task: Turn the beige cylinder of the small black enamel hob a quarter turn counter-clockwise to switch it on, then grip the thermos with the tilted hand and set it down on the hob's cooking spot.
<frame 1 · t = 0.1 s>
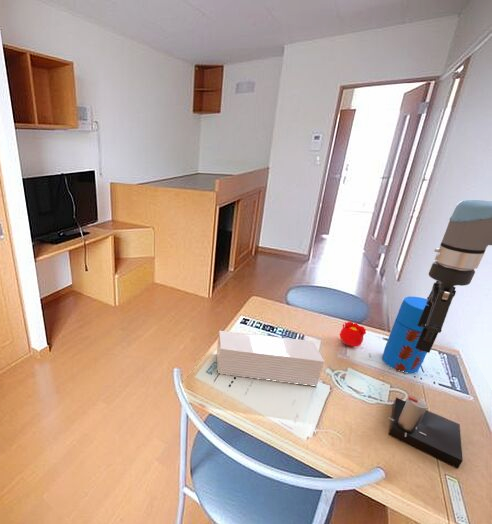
hand: (422, 337, 82), 27 cm above the table, tool pointing down, fingers open, 13 cm apart
flower: (349, 344, 122), on the table
beige cylinder: (412, 413, 82), point 8 cm above the table, hinge at 0.0°
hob: (422, 433, 85), on the table
thermos: (399, 363, 111), on the table
stack of papers: (262, 370, 108), on the table
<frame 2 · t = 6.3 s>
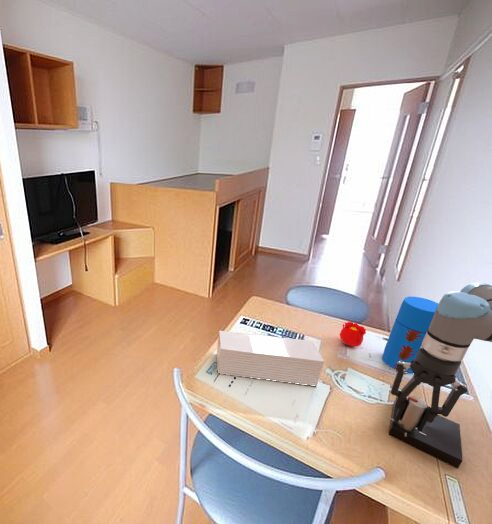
hand: (408, 422, 83), 5 cm above the table, tool pointing down, fingers closed on beige cylinder, 4 cm apart
beige cylinder: (412, 413, 82), point 8 cm above the table, hinge at 0.0°, touching gripper
everything else where it was.
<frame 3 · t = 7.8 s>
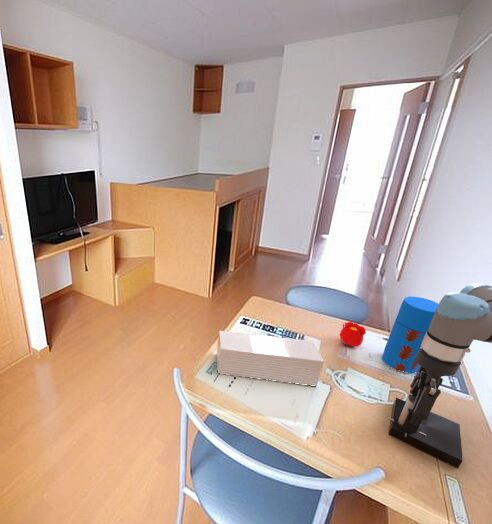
hand: (408, 422, 83), 5 cm above the table, tool pointing down, fingers open, 5 cm apart
beige cylinder: (412, 413, 82), point 8 cm above the table, hinge at 95.0°
everything else where it was.
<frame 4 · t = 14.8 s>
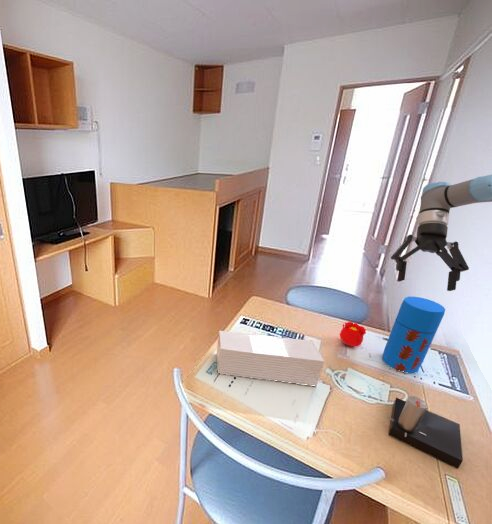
hand: (425, 285, 100), 31 cm above the table, tool tilted 35°, fingers open, 13 cm apart
nothing on the table moved.
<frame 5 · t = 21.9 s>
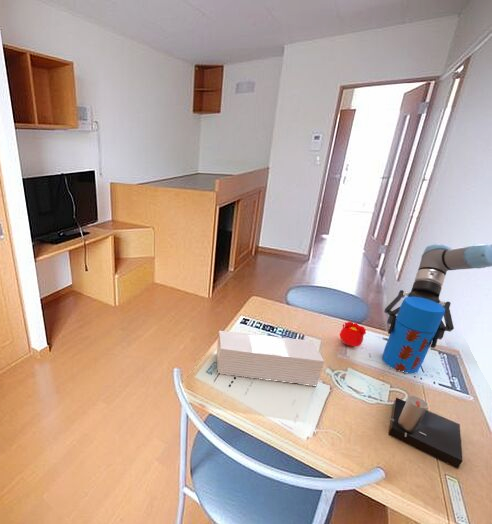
hand: (410, 339, 105), 12 cm above the table, tool tilted 45°, fingers closed on thermos, 11 cm apart
thermos: (399, 363, 111), on the table, touching gripper
everything else where it was.
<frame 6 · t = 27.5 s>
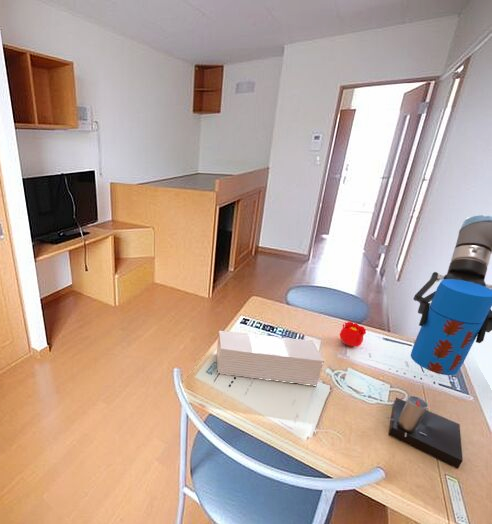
hand: (449, 332, 83), 27 cm above the table, tool tilted 45°, fingers closed on thermos, 11 cm apart
thermos: (433, 363, 90), point 15 cm above the table, touching gripper
everything else where it was.
when the fingers open (15 cm above the table, at t = 32.9 s): thermos stays where it is, resting on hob.
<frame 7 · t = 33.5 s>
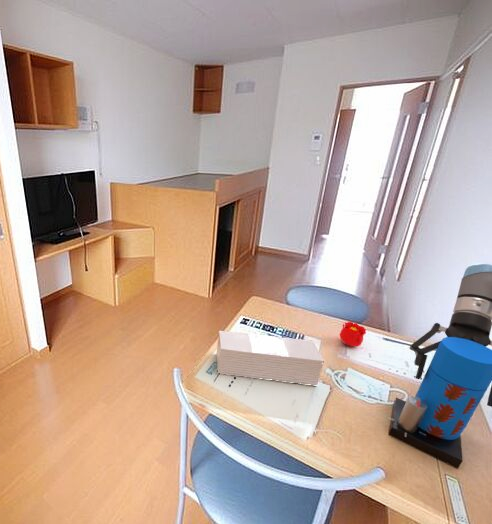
hand: (452, 391, 78), 16 cm above the table, tool tilted 45°, fingers open, 13 cm apart
thermos: (432, 423, 85), point 3 cm above the table, touching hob
everything else where it was.
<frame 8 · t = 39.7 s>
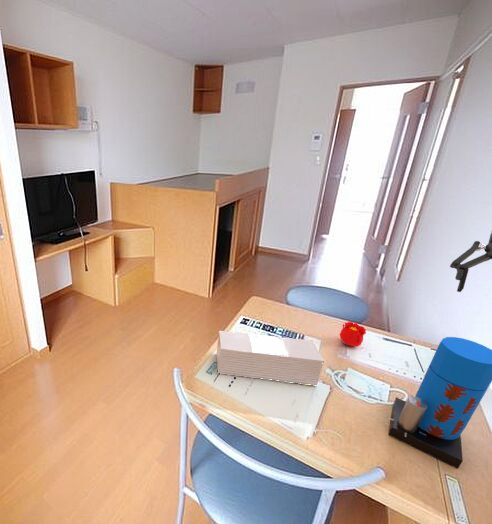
nothing on the table moved.
at the end: beige cylinder at +95° (first picture: +0°); thermos inside the target area on the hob (0.1 cm from its centre), point 2.8 cm above the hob's base; thermos tilted 0° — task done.
